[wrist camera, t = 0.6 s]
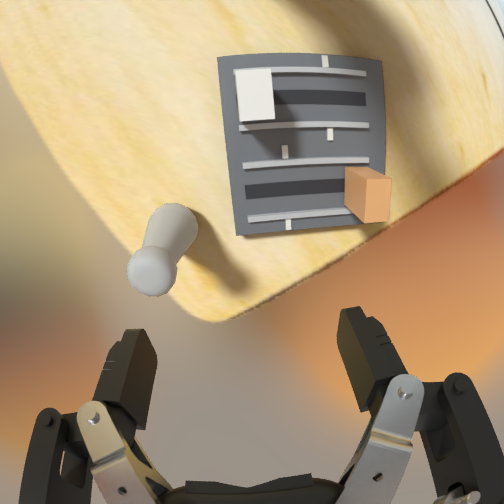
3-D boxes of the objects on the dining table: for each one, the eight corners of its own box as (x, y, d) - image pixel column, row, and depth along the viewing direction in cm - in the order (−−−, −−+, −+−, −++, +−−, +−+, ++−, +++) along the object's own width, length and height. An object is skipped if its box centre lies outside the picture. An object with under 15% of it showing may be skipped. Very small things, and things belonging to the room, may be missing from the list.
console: (218, 60, 24) (216, 56, 22) (373, 63, 24) (384, 60, 22) (236, 228, 34) (236, 237, 31) (374, 216, 34) (382, 224, 32)
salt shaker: (208, 209, 32) (194, 266, 21) (189, 248, 34) (171, 317, 23) (163, 189, 31) (124, 236, 19) (147, 230, 33) (110, 291, 21)
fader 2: (345, 167, 28) (366, 179, 23) (367, 166, 28) (391, 179, 23) (344, 204, 30) (364, 223, 25) (365, 203, 30) (388, 221, 25)
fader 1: (235, 79, 23) (235, 70, 18) (263, 77, 23) (270, 68, 18) (239, 120, 25) (240, 121, 20) (267, 118, 25) (275, 118, 21)
